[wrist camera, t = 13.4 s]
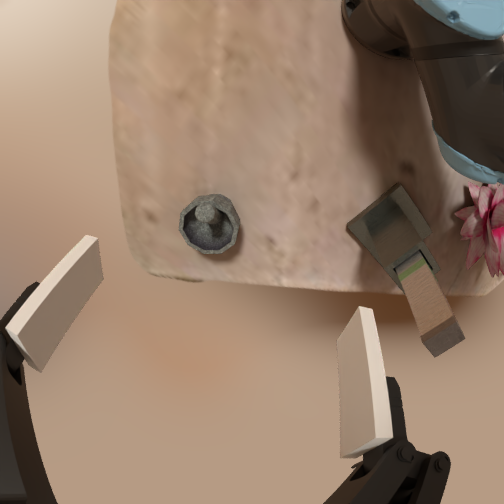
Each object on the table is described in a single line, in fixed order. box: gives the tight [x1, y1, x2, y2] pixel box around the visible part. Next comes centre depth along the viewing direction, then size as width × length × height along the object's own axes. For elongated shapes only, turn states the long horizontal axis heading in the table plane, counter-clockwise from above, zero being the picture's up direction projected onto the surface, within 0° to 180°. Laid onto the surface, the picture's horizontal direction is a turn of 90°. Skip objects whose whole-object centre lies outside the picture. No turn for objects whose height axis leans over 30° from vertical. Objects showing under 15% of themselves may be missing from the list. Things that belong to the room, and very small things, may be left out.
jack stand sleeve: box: [347, 182, 441, 295], centre depth 43 cm, size 12×12×13 cm
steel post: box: [395, 249, 465, 357], centre depth 34 cm, size 4×4×20 cm
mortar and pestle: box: [179, 194, 240, 254], centre depth 45 cm, size 11×9×12 cm
